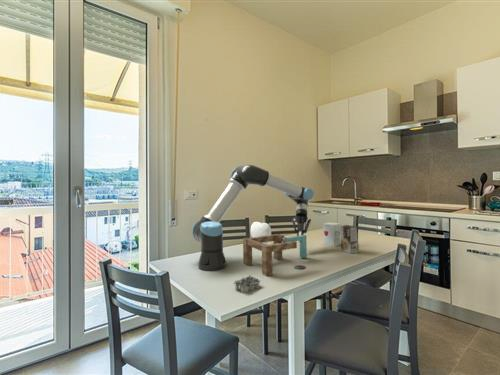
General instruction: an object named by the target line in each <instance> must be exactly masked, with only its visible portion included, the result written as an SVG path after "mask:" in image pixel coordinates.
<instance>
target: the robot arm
mask: <svg viewBox="0 0 500 375" xmlns="http://www.w3.org/2000/svg"><path fill="white" fill-rule="evenodd" d="M228 181H229V184H227V186H226V188H225V189H224V190H223V192H222V193H221V195H220V196H219V197H218V199H217V200H216V202H215V203H214V204H213V206H212V208H211V209H210V210H209V212H208V213H207V214H205V215H202V217H201V218H200V220H199V221H196V222H195V223H194V224H193V226H192V227H191V228H192V229H191V234H192V237H193V238H194V239H195V241H197V242H200V250H201V251H200V252H201V253H200V256H199V259H198V263H197V266H198V269H199V270H202V271H216V270H222V269H224V268H226V267H227V259H226V256H225V253H224V243H223V242H224V240H223V239H224V238H223V237H224V234H223V232H224V229H223V224H222V223H220V222H221V221H222V220H223V218H224V216H225V215H226V214H227V212H228V211H229V209H230V208H231V206H232V205H233V203H234V202H235V200H236V199H237V198H238V196H239V194H240V193H241V192H242V191H243V192H244V191H246V189H247V187H248V186H249V185H257V186H260V187H264V186H265V187H268V188H270V189H273V190H276V191H279V192H282V193H284V195H285V196H286V197H288V198H289V199H290V200H291V201H293V202H294V203H295V204H296V208H295V209H296V210H295V217H294V218H291V219H290V220H291V223H292V224H293V225H292V226H293V229H294V233H295V234H296V236H299V235H305V234H306V233H307V232H308V229H309V226H310V224H311V223H312V219H311V218H309V217H308V208H309V207H308V206H309V205H308V204H309V201H310V200H312V199H313V197H314V190H313V189H312V188H309V187H304V186H301V185H299V184H296V183H294V182H292V181H288V180H286V179H284V178H281V177H279V176H276V175H274V174H271V173H270V172H269V171H268V170H266V169H263V168H261V167H258V166H256V165H253V164H247V165H240V166H237V167H235V168H234V169H233V170H232V171H231V174H230V177H229V179H228ZM296 223H297V226H296ZM300 230H301V231H300ZM298 243H299V244H300V241H298Z"/></svg>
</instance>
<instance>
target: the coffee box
mask: <svg viewBox="0 0 500 375" xmlns="http://www.w3.org/2000/svg"><path fill="white" fill-rule="evenodd" d="M340 246H341V247H340V251H341V252H345V253H348V254H358V253H359V226H355V225H349V224H344V225H341V245H340Z"/></svg>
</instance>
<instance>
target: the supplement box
mask: <svg viewBox="0 0 500 375" xmlns="http://www.w3.org/2000/svg"><path fill="white" fill-rule="evenodd" d="M341 226H342V224H341V223H338V222H325V223H323V224H322V232H323V235H322V236H323V237H322V238H323V240H322V241H323V245H324V246H330V247H337V246H341Z"/></svg>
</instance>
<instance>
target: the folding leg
mask: <svg viewBox="0 0 500 375" xmlns="http://www.w3.org/2000/svg"><path fill="white" fill-rule="evenodd" d="M291 241H295V242H299V241H300V243H299V258H301V259H303V258H307V256H308V252H307V251H308V250H307V244H308V243H307V235H305V234H303V235H299V236H297V235H296V236H290V237H289V236H287V237H286V236H284V237H283V242H282V243H284V242H291Z"/></svg>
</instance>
